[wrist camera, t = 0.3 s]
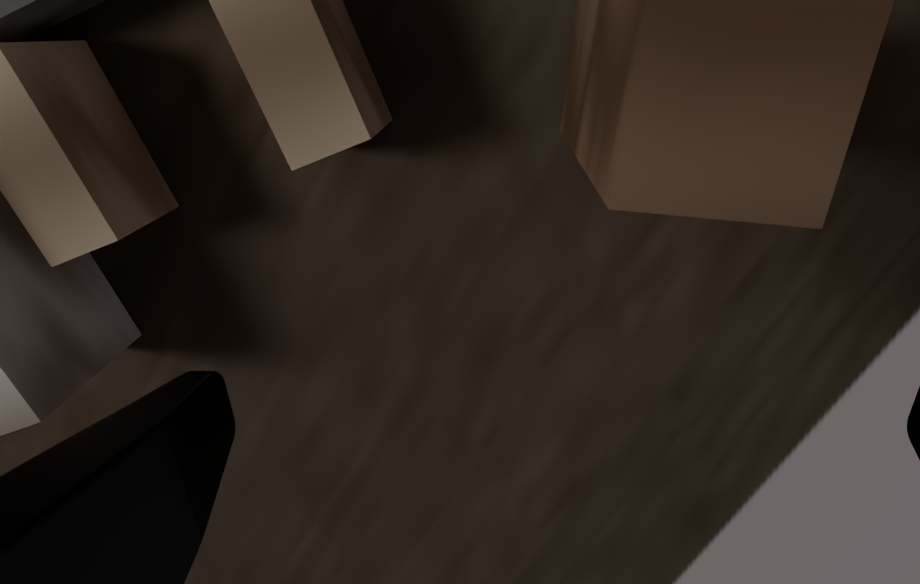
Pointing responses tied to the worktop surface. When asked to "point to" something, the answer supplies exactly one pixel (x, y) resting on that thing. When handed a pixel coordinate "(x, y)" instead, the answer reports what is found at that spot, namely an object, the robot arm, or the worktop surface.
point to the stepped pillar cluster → (131, 172)
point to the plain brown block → (719, 103)
